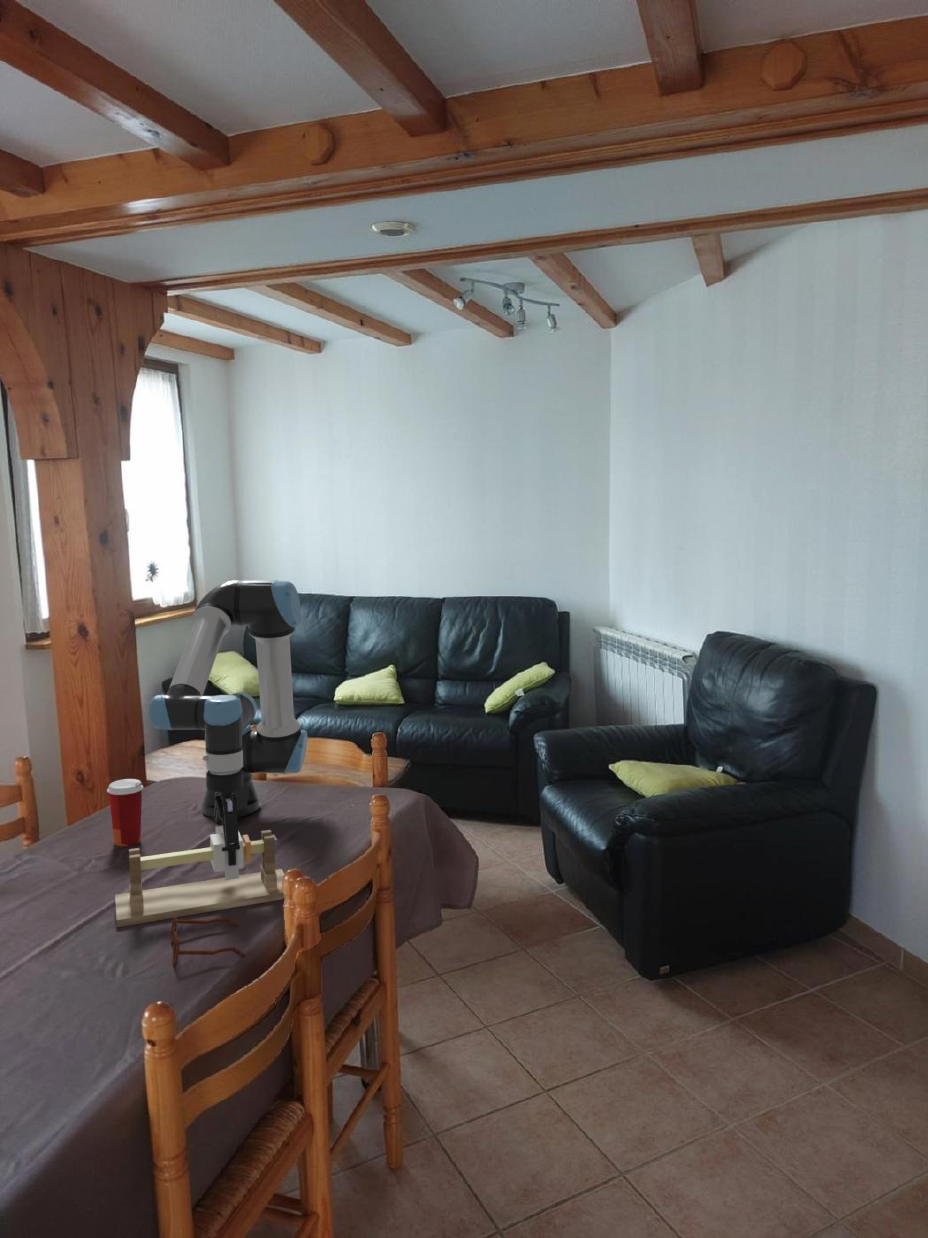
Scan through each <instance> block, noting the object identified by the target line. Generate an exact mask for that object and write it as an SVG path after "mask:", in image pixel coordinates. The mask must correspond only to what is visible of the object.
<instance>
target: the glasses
mask: <svg viewBox="0 0 928 1238" xmlns="http://www.w3.org/2000/svg"><path fill="white" fill-rule="evenodd" d="M172 919H173V920H172V923H171V929H170V930H171V931H170V944H174V945H173V953H172V966H176V965H177V962H178V958H179V956H180V955H182V956H183V955H187V956H189V955H190V956H191V955H192V956H194V955H195V956H196V955H198V956H201V955H202V956H213V955H214V956H215V955H217V954H220V953H223V952H231V951H232V953H235V954H236V955H238V956H239V957H241V958H242V957H247V954H245V953H243V952H242V951H241V950H239V949H237V948H236V947H234V946H230V947H222V948H218V949H216V950H180V937H178V931H177V928H178V924H181V925H182V924H186V925H187V924H188V925H189V924H190V925H195V924H196V925H210V924H213V923H221V922H225V923H227V924H229V925H231V926H233V927H237V926H240V924H239V923H237V922H235V921H233V920H231V919H229V918H227V917H224V918H223V917H221V918H218V917H217V918H213V919H207V920H206V919H205V920H202V919H200V920H199V919H198V920H197V919H178V917H174V918H172Z"/></svg>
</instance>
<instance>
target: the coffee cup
mask: <svg viewBox="0 0 928 1238" xmlns="http://www.w3.org/2000/svg"><path fill="white" fill-rule="evenodd" d="M143 789H144V785H143V784H142V782H141V780H139V779H135V778H124V779H119V780H118V779H117V780H115V781H113V782H111V783H110V784H108V788H107V789H106V792H107V793H108V799H109V806H110V814H111V815H110V816H111V817H110V818H111V824H112V833H113V841H114V845H115V846H117V847H122V848H124V847H125V848H126V847H132V846H135V845H137V844H139V843H141V835H142V803H143V802H142V799H143V798H142V792H143Z"/></svg>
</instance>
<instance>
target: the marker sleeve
mask: <svg viewBox="0 0 928 1238" xmlns="http://www.w3.org/2000/svg"><path fill="white" fill-rule="evenodd" d="M238 835H239V845H240V849H239V850H238V864H239V870H240V869H244V867H245V866H244V865H245V864H244V861H245V860H244V855H243V836H242V835H241V833H240V831H239V830H238ZM209 841H210V842H209V847H212V848H213V860H210V862H211V866H212V869H213V872H214V873H220V872H225V864H224V851H222V847H225V841H224V833H219V834H216V833H213V834H209ZM232 844H235V843H232Z"/></svg>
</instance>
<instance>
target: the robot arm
mask: <svg viewBox="0 0 928 1238" xmlns="http://www.w3.org/2000/svg"><path fill="white" fill-rule="evenodd" d="M301 611H302V608H301V601H300V596H299V593H298V591H297V588H296V586H295V585H294V584H293V583H292V582H290V581H286V580H284V581H283V580H278V579H273V580H272V579H271V580H268V579H267V580H265V579H264V580H262V579H261V580H259V579H258V580H257V579H255V580H251V579H250V580H249V579H247V580H241V579H233V580H229V581H228V580H227V581H225V582H223V583H221V584H218V585H217V586H216V587H214V588H213V589H210V591H208V592H207V593H206V594H205V595H204V597H202V599H201V600H200V601H199V603H198V604H197V605H196V607H195V609H194V611H193V614H192V617H191V622H192V624H193V625H192V628H191V631H190V634H189V636H188V639H187V641H186V644H185V646H184V649H183V652H182V654H181V657H180V659H179V662H178V665H177V667H176V670H175V672H174V675H173V677H172V681H171V682H170V684H169V688H168V691H167V692H166V694H158V695H155V696H154V697H152V699H151V700H150V703H149V706H148V718H149V722H150V724H151V726H152V727H153V728H154V729H157V730H158V729H159V730H169V731H174V730H175V731H176V730H177V731H180V730H183V731H184V730H185V731H186V730H192V731H193V730H201V731H204V744H205V745H204V746H205V756H202V760H203V761H205V768H206V770H207V771H206V773H205V779H206V780H205V782H206V784H205V785H206V788H205V792H204V795H203V799H202V801H201V812H202V814H203V815H204V816H206V817H208V818H209V817H210V818H212V819H214V823H215V834H219V833H224V841H225V847H222V851H224V864H225V871H224V878H225V880H231V879H237V878H239V875H240V874H239V870H240V869H239V864H238V850H239V849H240V845H239V835H238V831H239V826H238V825H239V824H238V818H242V817H246V816H249V815H252V814H254V813H255V812H257V811H258V810H259V809H260V799H259V795H258V791H257V789H256V788H255V785H254V782H253V774H283V775H286V774H297V773H299V772H300V771H301V770H302V768H303V766H304V763H305V759H306V753H307V747H308V731H306V730H305V729H302V730H301V723H300V721H299V720H297V719H296V718H295V712H294V695H293V694H294V693H293V678H292V676H293V675H292V661H291V643H290V642H291V641H290V637H291V636H293V634H294V633H295V631H296V630H295V629H296V627H297V626H299V625H300V623H301V618H302V615H301ZM234 626H242V627H248V634H249V636H251V637H252V638H253V639H255V648H256V662H257V663H256V664H257V674H258V675H257V676H258V688H259V690H258V691H259V703H260V717H261V718H260V719H261V721H260V722H259V723H258V724H257V726H256V729H252V725H251V723H252V722H253V720H254V718H256V715H257V711H258V707H257V703H256V700H255V699H254V698H253V697H252V696H251V695H250V694H248V693H247V692H242V691H241V692H240V691H239V692H235V693H231V694H219V695H204V693H205V690H206V687H207V684H208V681H209V678H210V675H211V673H212V670H213V667H214V664H215V660H216V658H217V655H218V652H219V650H220V647H221V643H222V640H223V638H224V636H225V635H227V634H229V632H230V630H231V628H232V627H234ZM232 843H235V844H232Z"/></svg>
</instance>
